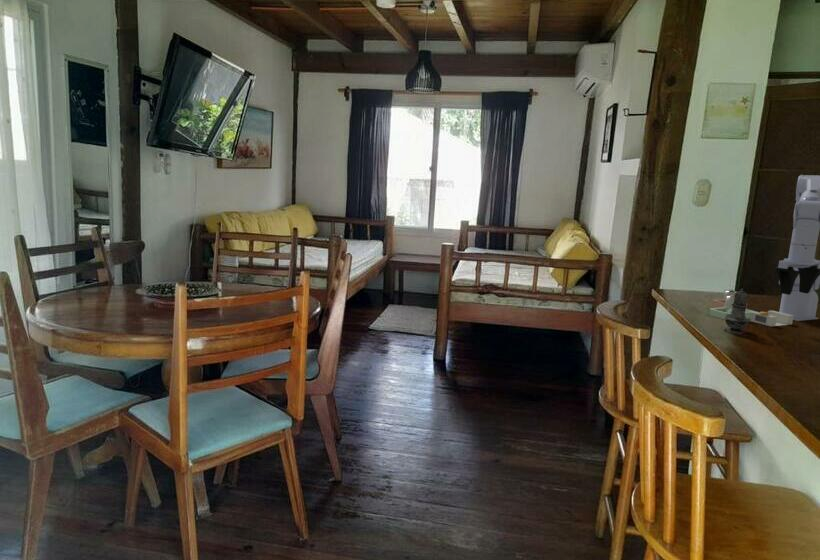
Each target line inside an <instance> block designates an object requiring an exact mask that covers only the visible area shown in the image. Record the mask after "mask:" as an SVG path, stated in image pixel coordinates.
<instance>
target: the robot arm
mask: <svg viewBox="0 0 820 560" xmlns="http://www.w3.org/2000/svg"><path fill="white" fill-rule="evenodd" d="M795 201H796V202H795V204H794V209H793V223H792V228H793V229H792V234H791V239H790V245H789V252H788V256H787V257H788V258H783V260H779V262H778V265H777V266H776V267H775V272H776V274H777V277H778V284H779V286H780V293H781V300H780V307H779V311H778V312H781V313H785V314H789V315H794V316H793V320H794V321H798V322H799V321H801V322H802V321H811V320H819V317H816V314H817V309H818V303H819V295H818V293H817V292H816V291H817V290H819V289H820V259H816V258H815V255H816V250H817V246H818V245H817V244H818V239H819V234H820V175H816V174H815V175H813V174H812V175H809V174H806V175H804V174H800V175H799V176H798V178H797V182H796V187H795Z"/></svg>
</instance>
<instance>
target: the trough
mask: <svg viewBox="0 0 820 560" xmlns="http://www.w3.org/2000/svg"><path fill="white" fill-rule="evenodd" d="M723 310H724V307H722V308H711V307H710V308H709V307H708V308H707V311H706V315H707V316H710V317H714V318H717V319H720V320H724V321H726V319H725V317H726V316H729V315H731V313H725V312H723ZM751 312H757V311H756V310H751V309H748V308H746V310H745V317H746V318H747V319H749V320H750V318H751Z"/></svg>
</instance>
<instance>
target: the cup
mask: <svg viewBox="0 0 820 560" xmlns="http://www.w3.org/2000/svg"><path fill="white" fill-rule="evenodd" d="M724 305H725V303H724V302H723V299H711V304H710V308H722V307H724ZM746 305H747V307H748V303H746ZM747 307H746V309H748V308H747Z"/></svg>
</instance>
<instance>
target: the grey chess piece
mask: <svg viewBox="0 0 820 560" xmlns="http://www.w3.org/2000/svg"><path fill="white" fill-rule="evenodd" d="M747 300H748V294H747V292H745V290H744V289H743V287H742V288H740V290H738V291H736V293H735V297H734V303H733V304H732V305H733V307H732V313H731V315H729V316H726V317H725V319H726V320H725V324H726V325H727V328H724V329H723V331H725V332H726V333H729V334H732V335H733V334H734V335H739V334H740V335H742V336H743V335H746V331H745V330H744V329H745V328H747V327H748V325H749V323H751V321H750V319H747V318H746V317H745V310H746V309H747V308H746V307H748V304H747ZM746 304H747V305H746Z"/></svg>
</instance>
